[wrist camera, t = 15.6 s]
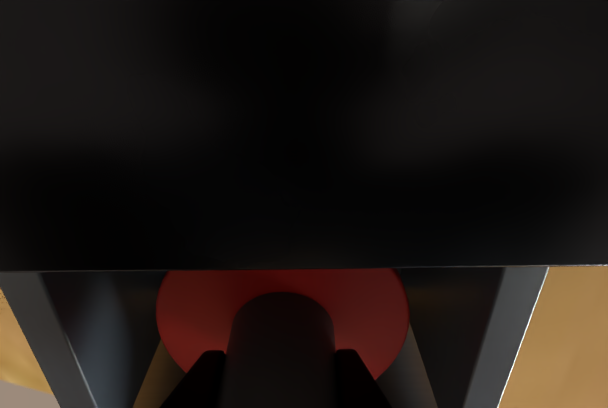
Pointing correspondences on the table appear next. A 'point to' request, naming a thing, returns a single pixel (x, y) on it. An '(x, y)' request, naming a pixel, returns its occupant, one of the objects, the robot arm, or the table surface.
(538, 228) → the cabinet
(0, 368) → the table surface
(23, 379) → the table surface
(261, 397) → the red lid
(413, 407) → the drawer
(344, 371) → the robot arm
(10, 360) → the table surface
